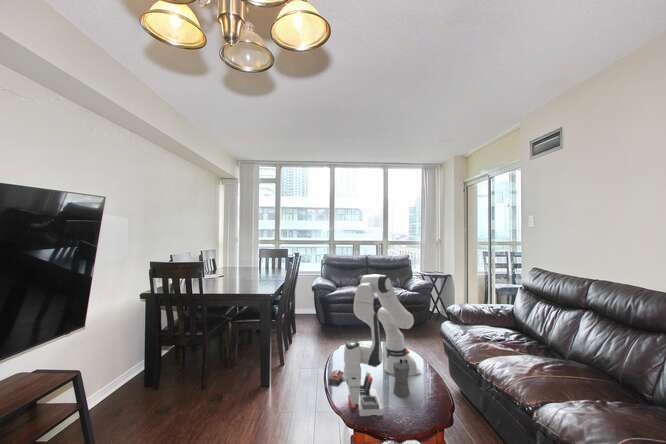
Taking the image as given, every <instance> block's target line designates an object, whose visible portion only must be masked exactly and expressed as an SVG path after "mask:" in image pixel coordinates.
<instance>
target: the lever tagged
mask: <svg viewBox="0 0 666 444" xmlns="http://www.w3.org/2000/svg"><path fill="white" fill-rule="evenodd" d="M373 380H374V379H373V377H372V376H371V375H370V376H368V381H367V385H366V389H365V393H364V395H369V391H370V389H371V387H372V384H373Z"/></svg>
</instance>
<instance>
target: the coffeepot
mask: <svg viewBox="0 0 666 444" xmlns="http://www.w3.org/2000/svg"><path fill="white" fill-rule="evenodd" d="M402 361H403V362H402ZM393 368H394V384H393V395H395V394H396V396H397V397H402V398H407V397H409V396H410V393H411V392H410V388H409V383H408V382H409V381H408V379H409V376H408V375H409V364H408V362H407V360H406V359H405V360H402V359H400V362H395V363H393ZM408 395H409V396H408ZM406 396H407V397H406Z"/></svg>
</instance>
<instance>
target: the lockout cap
mask: <svg viewBox="0 0 666 444" xmlns="http://www.w3.org/2000/svg"><path fill="white" fill-rule="evenodd" d="M347 404H348V409H358V406H357V404H355V406H354V407H352V405H351V400H350V395H349V394H348V401H347Z"/></svg>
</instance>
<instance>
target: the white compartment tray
mask: <svg viewBox="0 0 666 444" xmlns="http://www.w3.org/2000/svg"><path fill="white" fill-rule="evenodd" d="M362 388H363V384H361V386H360V391H359V402H358V404H357V409H358V413H359V414H358V415H359V417H366V416H367V417H369V416H370V417H371V415H377V416H383V407H382V404H381V402H380V399H379V396H378V394H377V391H376V388H373V387H372V388H371V387H370V391H369V395H364V393H365V389H362Z"/></svg>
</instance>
